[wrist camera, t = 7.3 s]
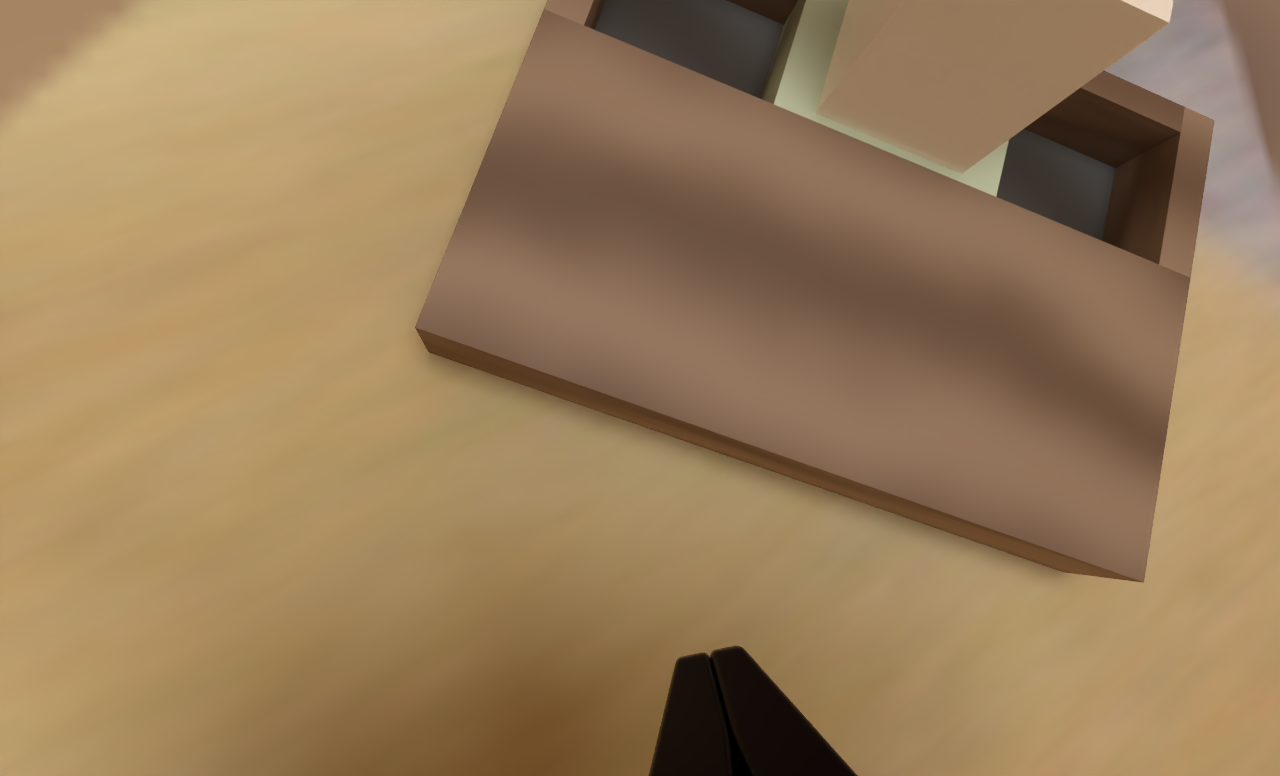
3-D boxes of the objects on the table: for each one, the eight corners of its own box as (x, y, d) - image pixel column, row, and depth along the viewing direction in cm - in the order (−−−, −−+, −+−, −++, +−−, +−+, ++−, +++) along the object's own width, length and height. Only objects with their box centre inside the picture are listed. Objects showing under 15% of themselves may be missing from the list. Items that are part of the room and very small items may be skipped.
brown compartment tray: (1064, 572, 23) (1143, 582, 20) (428, 351, 21) (415, 327, 18) (1137, 162, 27) (1214, 120, 24) (597, -73, 24) (609, -152, 21)
